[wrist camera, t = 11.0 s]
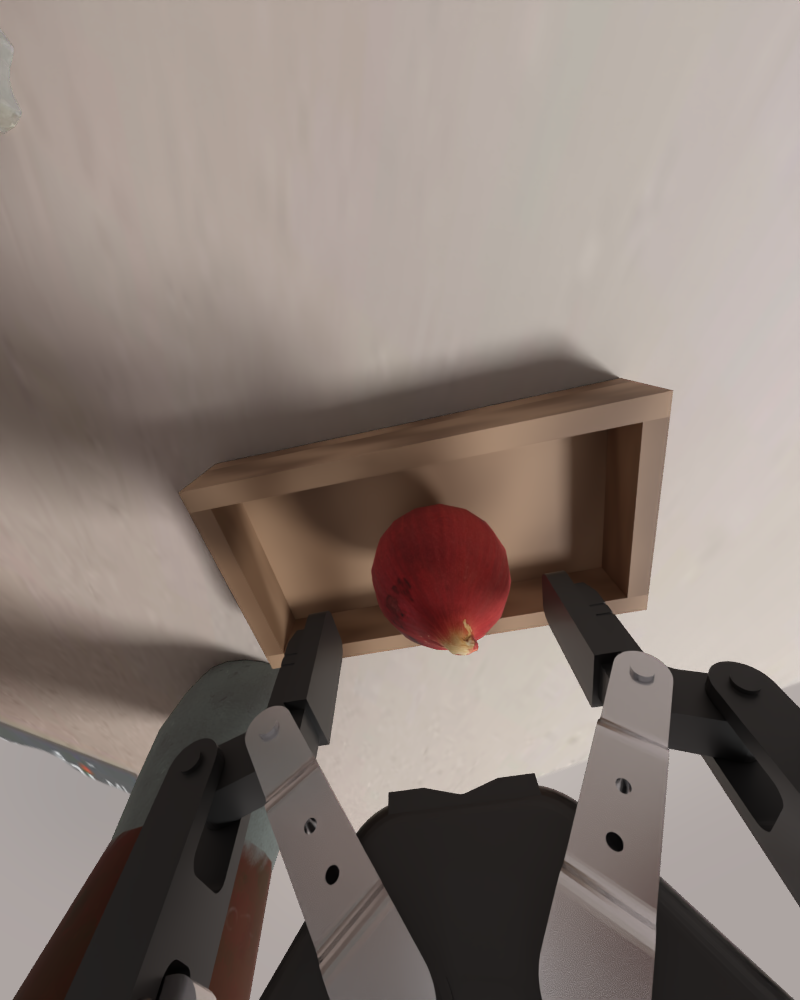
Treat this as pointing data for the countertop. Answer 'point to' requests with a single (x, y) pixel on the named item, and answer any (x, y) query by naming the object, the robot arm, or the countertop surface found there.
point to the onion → (441, 577)
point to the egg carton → (7, 88)
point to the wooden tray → (450, 481)
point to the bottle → (200, 714)
